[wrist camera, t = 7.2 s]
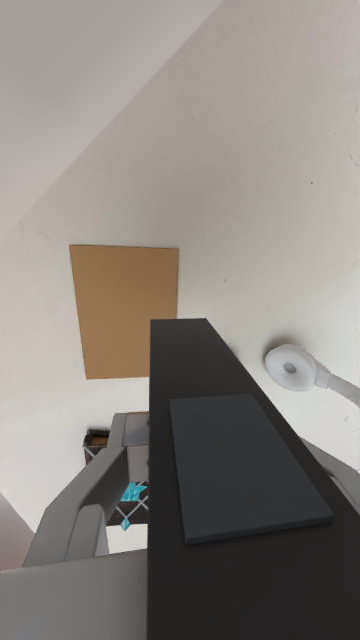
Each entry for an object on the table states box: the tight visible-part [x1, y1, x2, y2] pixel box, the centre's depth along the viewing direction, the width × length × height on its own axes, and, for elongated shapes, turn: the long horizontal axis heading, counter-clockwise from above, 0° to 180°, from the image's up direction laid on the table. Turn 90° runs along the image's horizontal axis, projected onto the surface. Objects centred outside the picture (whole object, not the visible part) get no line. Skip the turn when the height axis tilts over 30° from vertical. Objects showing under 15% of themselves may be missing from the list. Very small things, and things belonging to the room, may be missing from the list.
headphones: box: [236, 344, 360, 474], centre depth 27 cm, size 7×18×20 cm, turn 97°
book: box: [83, 429, 148, 531], centre depth 39 cm, size 22×17×5 cm
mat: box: [69, 245, 178, 379], centre depth 31 cm, size 20×14×1 cm
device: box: [146, 318, 360, 640], centre depth 8 cm, size 6×4×12 cm, turn 179°
